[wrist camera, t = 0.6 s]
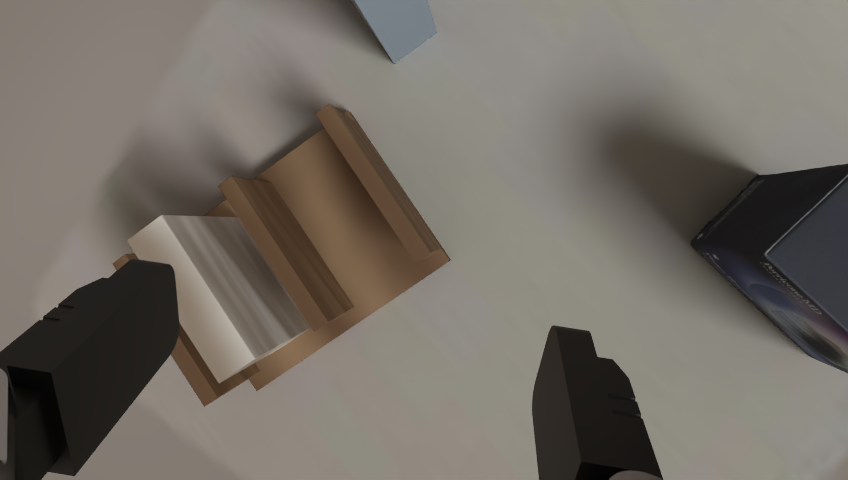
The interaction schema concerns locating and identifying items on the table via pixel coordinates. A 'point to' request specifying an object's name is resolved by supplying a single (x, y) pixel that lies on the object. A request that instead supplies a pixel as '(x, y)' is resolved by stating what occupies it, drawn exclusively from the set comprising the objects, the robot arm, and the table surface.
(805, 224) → the small box
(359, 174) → the rack
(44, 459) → the robot arm
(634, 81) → the table surface
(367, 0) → the pale blue upright slab
